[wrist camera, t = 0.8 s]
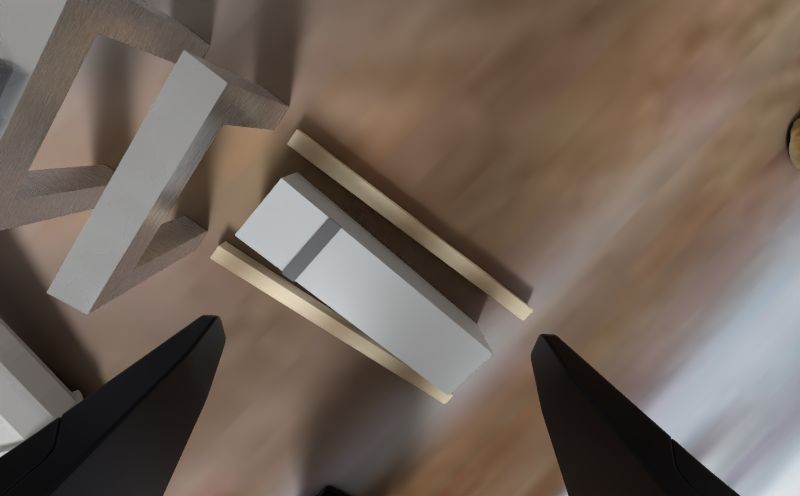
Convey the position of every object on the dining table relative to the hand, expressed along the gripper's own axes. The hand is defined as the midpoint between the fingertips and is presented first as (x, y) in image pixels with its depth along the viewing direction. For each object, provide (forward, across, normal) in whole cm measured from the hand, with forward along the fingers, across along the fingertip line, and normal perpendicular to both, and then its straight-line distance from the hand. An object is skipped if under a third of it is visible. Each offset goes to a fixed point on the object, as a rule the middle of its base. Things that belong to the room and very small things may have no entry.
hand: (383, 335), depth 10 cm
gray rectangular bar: (+12, 0, +7) cm, 14 cm away
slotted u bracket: (+13, +12, 0) cm, 18 cm away
